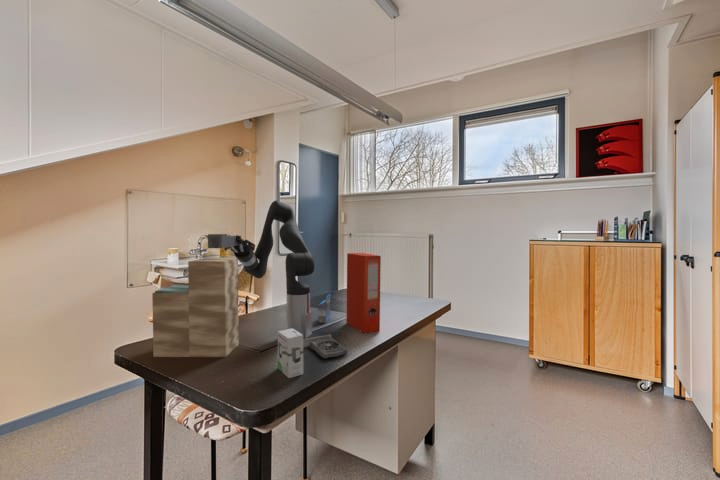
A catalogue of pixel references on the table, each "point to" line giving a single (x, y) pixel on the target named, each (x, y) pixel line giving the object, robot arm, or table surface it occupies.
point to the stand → (198, 312)
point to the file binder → (363, 292)
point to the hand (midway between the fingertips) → (232, 237)
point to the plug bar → (221, 241)
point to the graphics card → (325, 346)
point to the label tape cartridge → (324, 310)
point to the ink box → (290, 352)
